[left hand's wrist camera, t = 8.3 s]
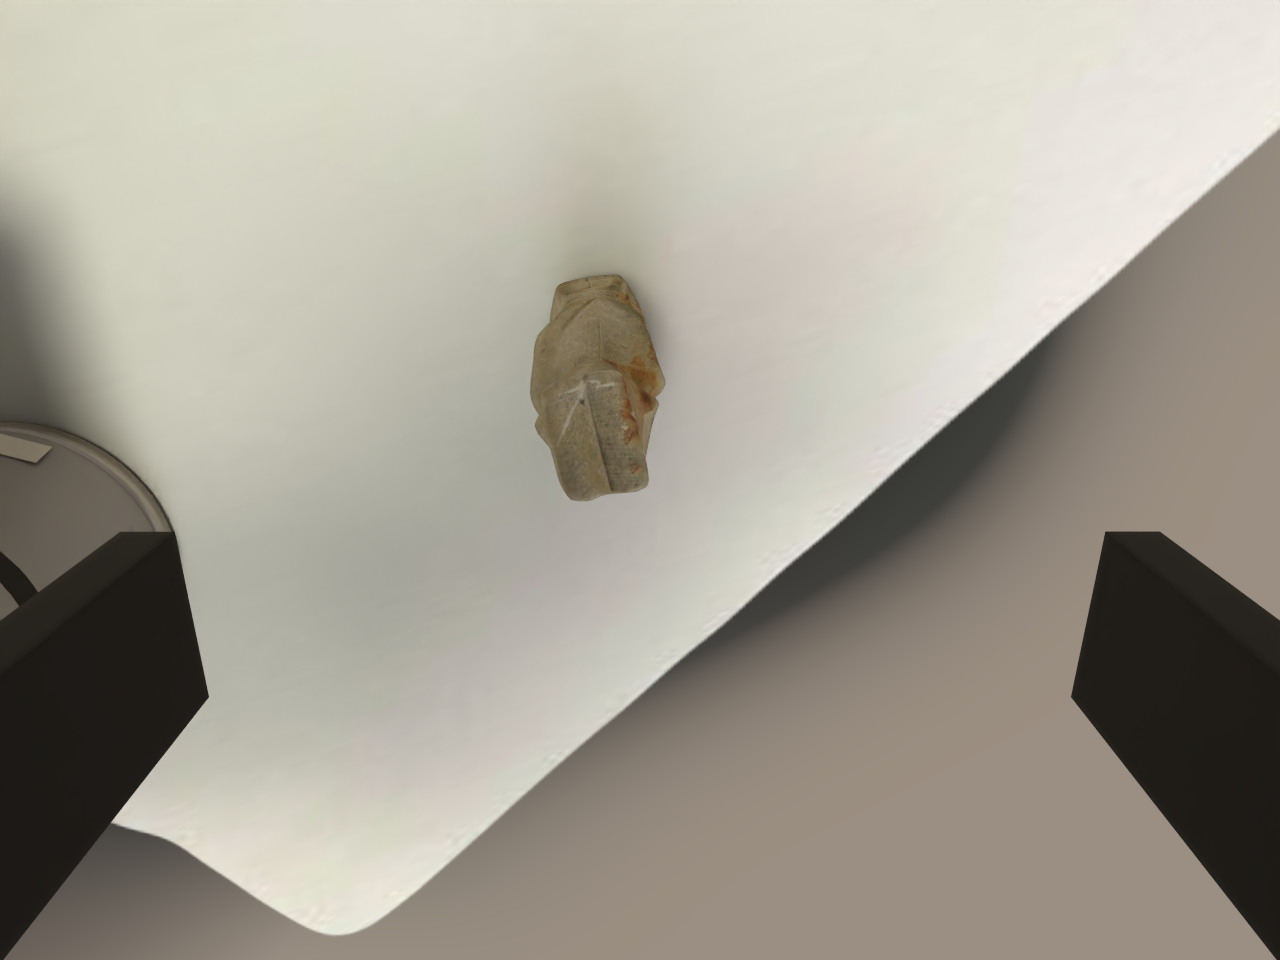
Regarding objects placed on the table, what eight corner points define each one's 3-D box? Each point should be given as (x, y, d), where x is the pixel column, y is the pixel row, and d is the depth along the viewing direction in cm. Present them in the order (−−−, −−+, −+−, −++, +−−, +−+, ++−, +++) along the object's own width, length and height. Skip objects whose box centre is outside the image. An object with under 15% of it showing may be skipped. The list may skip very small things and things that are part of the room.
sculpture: (560, 410, 47) (527, 521, 33) (538, 276, 45) (492, 335, 31) (667, 397, 47) (678, 504, 33) (651, 261, 45) (657, 315, 31)
